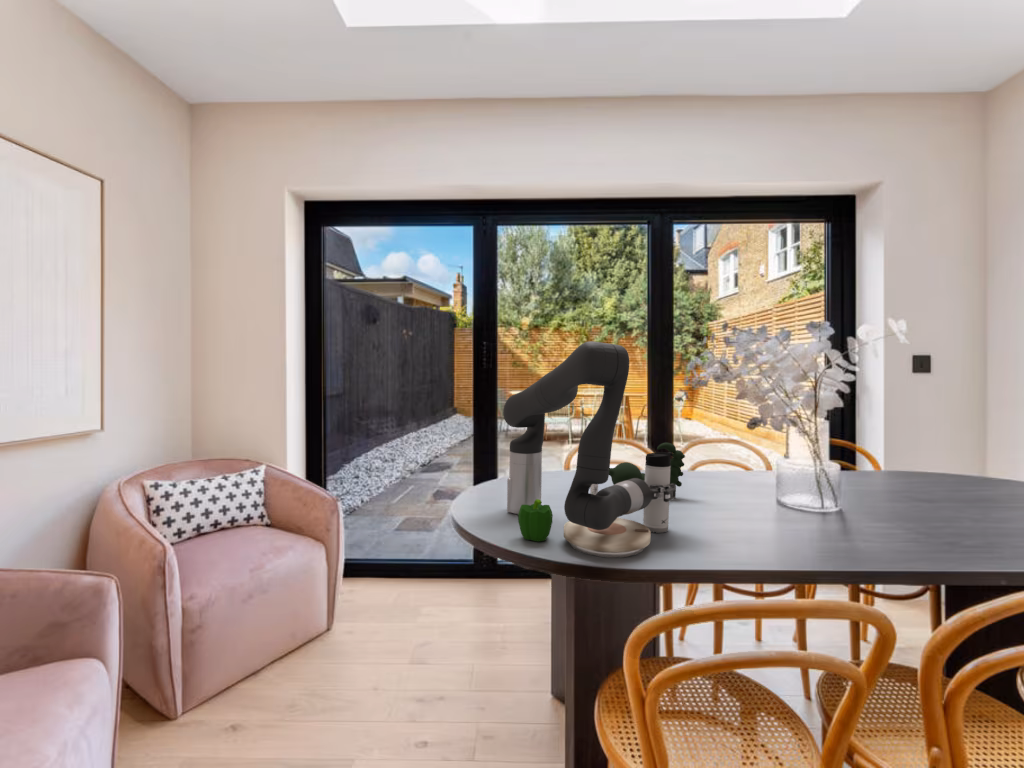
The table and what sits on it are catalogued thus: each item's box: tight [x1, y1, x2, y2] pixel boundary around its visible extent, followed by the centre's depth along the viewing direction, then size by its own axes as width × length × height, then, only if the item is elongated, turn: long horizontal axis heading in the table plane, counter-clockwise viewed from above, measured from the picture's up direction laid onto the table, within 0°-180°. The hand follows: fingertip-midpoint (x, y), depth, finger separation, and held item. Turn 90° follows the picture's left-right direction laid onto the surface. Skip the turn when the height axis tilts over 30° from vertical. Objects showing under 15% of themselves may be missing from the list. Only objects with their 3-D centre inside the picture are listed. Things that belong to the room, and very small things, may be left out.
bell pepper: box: [517, 499, 554, 542], centre depth 130 cm, size 8×8×10 cm
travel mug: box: [642, 451, 673, 534], centre depth 138 cm, size 6×7×20 cm
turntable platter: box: [563, 517, 652, 552], centre depth 126 cm, size 20×20×2 cm
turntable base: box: [569, 542, 644, 559], centre depth 127 cm, size 17×17×1 cm
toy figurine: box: [609, 442, 686, 488], centre depth 171 cm, size 9×19×25 cm
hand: (661, 485), depth 140 cm, fingers closed on travel mug, 6 cm apart
